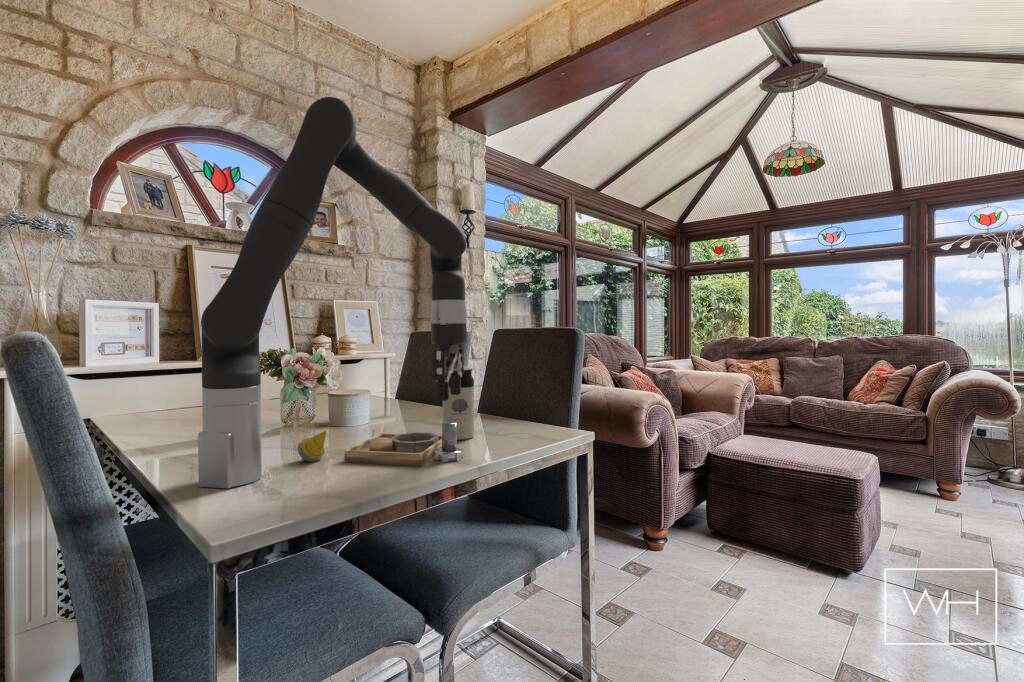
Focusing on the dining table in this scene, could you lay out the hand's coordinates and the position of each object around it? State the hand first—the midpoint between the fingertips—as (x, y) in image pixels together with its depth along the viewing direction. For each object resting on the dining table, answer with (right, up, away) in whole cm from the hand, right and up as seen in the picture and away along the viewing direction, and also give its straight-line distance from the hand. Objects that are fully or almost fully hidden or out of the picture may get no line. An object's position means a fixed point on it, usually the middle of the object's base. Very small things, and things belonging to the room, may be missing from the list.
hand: (449, 397), depth 103 cm
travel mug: (0, -13, +20) cm, 24 cm away
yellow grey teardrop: (-28, -13, -2) cm, 31 cm away
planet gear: (0, -13, 0) cm, 13 cm away
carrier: (-12, -13, +4) cm, 18 cm away
